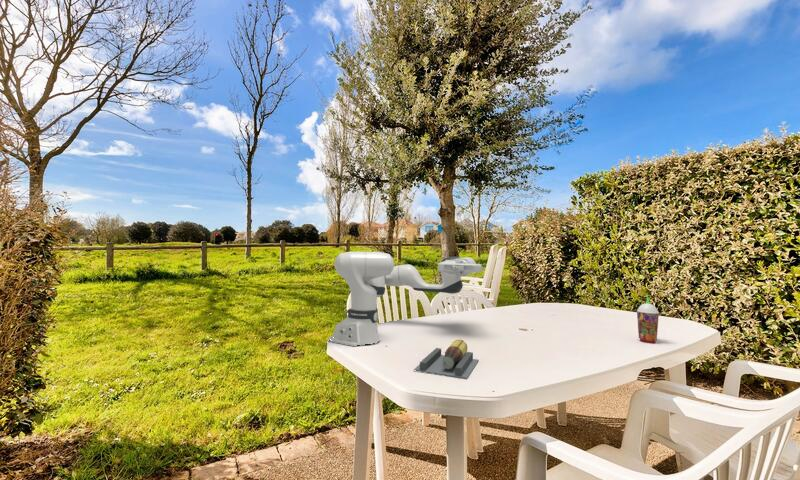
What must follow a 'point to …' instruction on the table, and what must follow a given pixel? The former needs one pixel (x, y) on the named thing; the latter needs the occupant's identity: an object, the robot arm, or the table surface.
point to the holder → (435, 366)
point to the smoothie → (647, 322)
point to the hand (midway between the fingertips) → (456, 268)
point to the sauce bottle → (454, 354)
